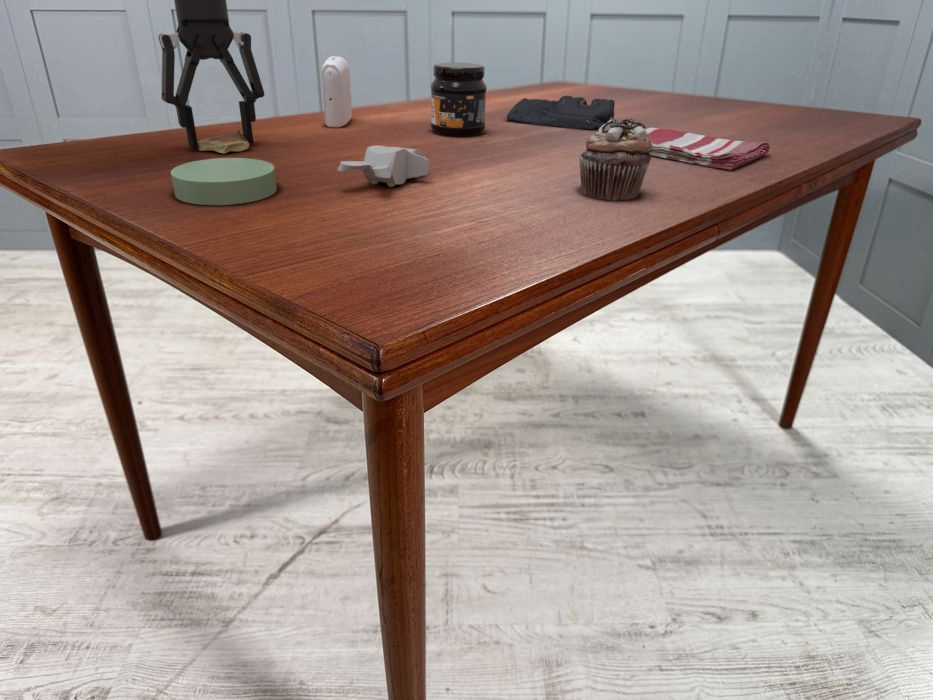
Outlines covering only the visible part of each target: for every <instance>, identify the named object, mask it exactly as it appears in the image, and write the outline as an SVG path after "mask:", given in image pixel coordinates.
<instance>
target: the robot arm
mask: <svg viewBox="0 0 933 700" xmlns="http://www.w3.org/2000/svg"><path fill="white" fill-rule="evenodd" d="M173 2H174V8H175V14H176V20H177V29H176V31H175V32H173V33H172V32H171V33H160V34H159V35H158V41H159V44H160V47H161V50H162V51H161V52H162V53H161V100H162V101H163V102H165V103H166V104H168V105H169V104H170V105H173V106H174V107H175V111H176V116H177V121H178V125H179V127H180V128H182V129H185V131H186V136H187V137H186V138H187V141H188V142H187V143H188V147H190V149H192V150H198V143H197V142H198V137H197V131H196V130H197V129H196V125H195V119H194V112H193V107H192V106H190V105H189V104H187V103H188V99H189V96H190V92H191V88H192V85H193V81H194V79H195V75H196V71H197V68H198V66H199V64H200V60H202V61H203V60H206V61H207V60H209V59H214V60H219V62H220V63H221V64H222V66H223V67H224V69H225V70H226V72H227V74H228V75H229V78H230V79H231V81H232V82H233V84H234V85H235V88H236V89H237V90H238V92H239V94H240V96H241V97H242V99H243V100H239V101H238V107H239V115H240V122H241V131H242V134H243V135H244V137H245V138H246V139H247V141H248V142H249V145H251V144H254V134H253V127H252V123H256V120H257V116H256V115H257V114H256V106H255V103H256V102H257V100H258V99H261V98H264V97H265V90H264V87H263V84H262V80H261V78H260V77H261V76H260V73H259V71H258V67H257V64H256V61H255V57H254V54H253V51H252V36H251V34H250V33H247V32H242V31H241V32H234V30H233V29H232V28H231V25H230V19H229V13H228V4H227V0H173ZM233 41H234V43H235V46H236V47H238V50H239V51H238V52H239V54H240V57H241V60H242V63H243V64H242V65H243V67H244V70H245V74H246V76H247V80H248V82H249V86H250V87H249V86H248V84H247V82H246V80H245V78H244V77H243V75H242V73H241V71H240V69H239V68H238V66H237V65H236V63H235V60H234V58H233V56H232V55H231V53H230V51H229V48H230V46H231V44H232V43H233ZM178 42H180V43H181V45H183V47H184V48H185V49H186V53H185V57H184V63H183V67H182V69H181V74H180V77H179V81H178V85H177V88H176V91H175V65H176V63H175V62H176V61H175V58H176V55H175V50H176V49H177V47H178Z"/></svg>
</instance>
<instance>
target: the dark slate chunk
mask: <svg viewBox="0 0 933 700" xmlns="http://www.w3.org/2000/svg"><path fill="white" fill-rule="evenodd" d="M615 104H616V103H615V101H614V100H613V99H607V98H594V99H592V100H591V103H590V104H588V101H587V100H586V99H585V98H584V97H582V96H577V97H573V96H572V95H563V96H561V97H560V98H559V100H548V99H545V98H544V99H541V98H531V99H529V98H525V97H523V98H522V99H520V100H519V101H518V102H517V103H515V104H514V105H513V107H512V108H511V109H510V110H509V111H508V113H507V114H506V119H507V120H508V121H512V122H516V123H520V124H529V125H537V126H547V127H555V128H567V129H568V128H569V129H577V130H587V131H589V130H592V131H593V130H599V128H600V127H601V126H603V125H604V124H606V123H607V122H608V121H609V120H610V118H613V119H614V120H615V106H616V105H615Z"/></svg>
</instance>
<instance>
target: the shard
mask: <svg viewBox="0 0 933 700" xmlns="http://www.w3.org/2000/svg"><path fill="white" fill-rule="evenodd" d="M197 143H198V149H197V150H198V151H199V152H203V151H204V152H205V151H212V152H216V153H219V154H222V155H223V154H224V155H225V154H228V153H229V152H243V151H248V150H249V148H250V144H249V142H248V141H247V139H246V138H245V137H244V135H243V133H242V132H241V131H240V130H239V129H237V130H235V131H231V132H227V133H222V134H218V135H214V136H209V137H206V138H203V139H199V140H197Z"/></svg>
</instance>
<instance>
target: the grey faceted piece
mask: <svg viewBox="0 0 933 700" xmlns="http://www.w3.org/2000/svg"><path fill="white" fill-rule="evenodd" d="M358 170H362V172H363V175H364V178H365V180H367V181H370V183H371V184H372V185H377V184H379V182H380V183H385V184H387V186H388V187H389V188H394V187H395V186H396V185H403V184H405V182H406V180H408V179H412V178H415V179H416V178H420V177H423V176H427V175H429V174H430V159H428V158H427V156H425V155H424V152H423V151H422V150H421V149H415V148H408V147H401V146H386V145H377V144H375V145H371V146H368V147H366V151H365V153H364V158H363V160H362V161H360V160H358V161H357V160H356V161H355V160H351V161H350V160H349V161H348V160H347V161H346V160H343V161H340V164H339V165H338V168H337V171H338V172H352V171H358Z"/></svg>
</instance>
